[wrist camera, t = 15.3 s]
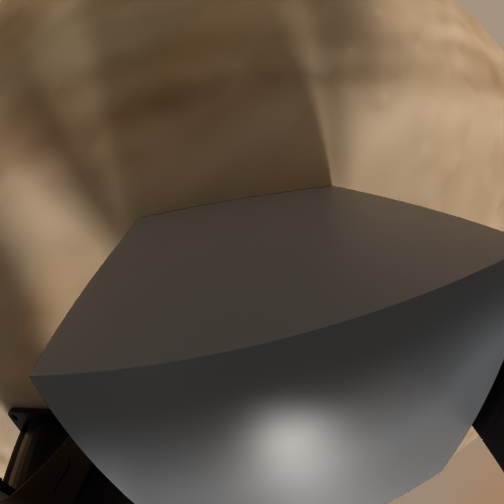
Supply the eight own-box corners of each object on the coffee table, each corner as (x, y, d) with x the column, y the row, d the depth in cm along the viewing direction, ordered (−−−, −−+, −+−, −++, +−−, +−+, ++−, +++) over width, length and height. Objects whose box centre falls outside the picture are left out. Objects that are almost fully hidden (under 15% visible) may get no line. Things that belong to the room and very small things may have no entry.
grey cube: (185, 378, 13) (204, 554, 5) (139, 218, 10) (29, 375, 2) (337, 341, 14) (441, 470, 6) (332, 185, 12) (534, 243, 3)
